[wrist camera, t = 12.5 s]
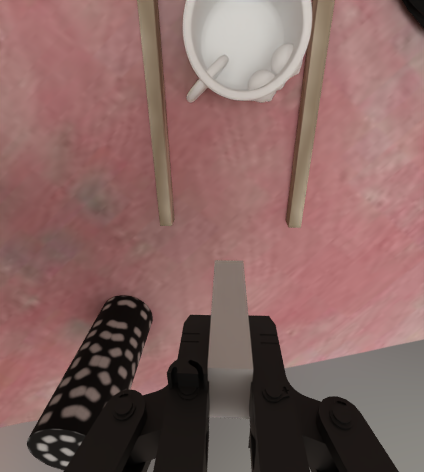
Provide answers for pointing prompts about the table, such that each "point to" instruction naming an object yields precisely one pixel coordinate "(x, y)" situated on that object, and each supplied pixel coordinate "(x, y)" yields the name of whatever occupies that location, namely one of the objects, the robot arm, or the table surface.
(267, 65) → the mug
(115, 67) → the table surface
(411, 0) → the cable lock
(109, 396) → the spotted tube
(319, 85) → the guide channel
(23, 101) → the table surface
